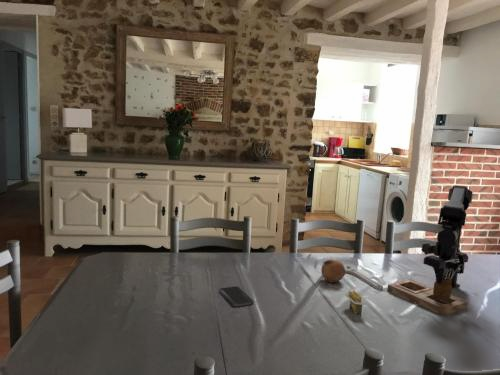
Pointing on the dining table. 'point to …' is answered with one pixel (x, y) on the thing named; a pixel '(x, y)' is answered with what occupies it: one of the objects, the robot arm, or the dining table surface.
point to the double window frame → (426, 297)
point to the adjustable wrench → (362, 277)
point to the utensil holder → (443, 288)
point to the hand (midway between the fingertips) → (443, 282)
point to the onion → (333, 270)
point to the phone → (236, 296)
